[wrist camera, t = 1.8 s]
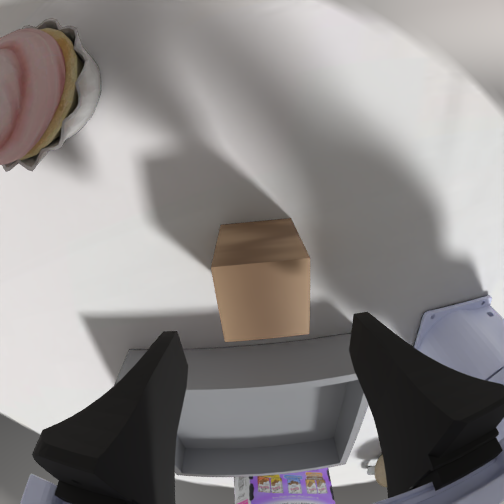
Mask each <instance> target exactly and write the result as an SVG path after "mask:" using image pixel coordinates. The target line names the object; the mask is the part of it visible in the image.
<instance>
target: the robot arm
mask: <svg viewBox="0 0 504 504" xmlns="http://www.w3.org/2000/svg"><path fill="white" fill-rule="evenodd" d="M491 301H492V297H491V296H490V295H488V296H485V297H481V298H478V299H474V300H471V301H467V302H463V303H459V304H456V305H452V306H448V307H444V308H439V309H435V310H431V311H427V312H426V313H424V315H423V317H422V321H421V324H420V328H419V331H418V335H417V338H416V341H415V345H414V347H413V346H411V345H410V344H408V343H407V342H405V341H404V340H403V339H401V338H400V337H399V336H397V335H396V334H395V333H393V332H392V331H391V330H390V329H388V328H387V327H386V326H385V325H383V324H382V323H381V322H380V321H378V320H377V319H376V318H375V317H373V316H372V315H371V314H370V313H368V312H363V313H357V314H354V316H353V324H352V331H351V339H350V345H349V353H350V357H351V360H352V364H353V367H354V371H355V373H356V376H357V378H358V380H359V383H360V385H361V388H362V390H363V392H364V395H365V397H366V399H367V402H368V404H369V407H370V409H371V412H372V415H373V417H374V421H375V424H376V428H377V432H378V436H379V441H380V445H381V450H382V455H383V460H384V466H385V472H386V481H387V489H388V499H385V500H382V501H379V502H375V503H372V504H500V503H501V502H502V501H504V319H503V318H502V317H501V316H500V315H499V314H498V313H497V312H496V311H495V310H494V309H493V308H492V307H491V306H490V304H491ZM187 378H188V363H187V360H186V357H185V354H184V351H183V348H182V345H181V342H180V339H179V336H178V332H177V331H168V332H163V333H162V334H161V335H160V336H159V337H158V338H157V340H156V341H155V342H154V343H153V344H152V346H151V347H150V348H149V349H148V350H147V352H146V353H145V354H144V355H143V356H142V357H141V359H140V360H139V361H138V362H137V363H136V364H135V365H134V367H133V368H132V369H131V370H130V371H129V372H128V373H127V374H126V375H125V376H124V377H123V378H122V379H121V380H120V381H119V382H118V383H117V384H116V385H115V386H114V387H112V388H111V389H110V390H109V391H108V392H107V393H105V394H104V395H103V396H102V397H100V398H99V399H98V400H96V401H95V402H93V403H92V404H91V405H89V406H88V407H86V408H85V409H83V410H82V411H80V412H79V413H77V414H75V415H73V416H72V417H70V418H68V419H66V420H64V421H62V422H60V423H58V424H56V425H53V426H51V427H49V428H47V429H44V430H43V431H42V433H41V435H40V438H39V440H38V442H37V444H36V447H35V449H34V451H33V454H32V455H33V458H34V460H35V461H36V462H37V463H38V464H39V465H40V466H41V467H43V468H44V469H45V470H46V471H47V472H49V473H50V474H51V475H53V476H54V477H55V478H57V479H58V480H59V482H58V485H55V484H53V483H51V482H49V481H47V480H45V479H42V478H40V477H38V476H36V475H33V474H30V476H29V479H28V482H27V485H26V488H25V491H24V493H23V496H22V499H21V502H20V504H175V452H176V438H177V431H178V426H179V421H180V416H181V412H182V407H183V402H184V397H185V393H186V388H187Z"/></svg>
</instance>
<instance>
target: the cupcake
mask: <svg viewBox="0 0 504 504" xmlns="http://www.w3.org/2000/svg"><path fill="white" fill-rule="evenodd" d="M100 93H101V77H100V72H99V68H98V66H97V64H96V62H95V61H94V60H93V58H92V57H91V56H90V55H89V54H88V53H87V52H86V50H85V49H84V47H83V46H82V44H81V41H80V38H79V35H78V32H77V29H76V28H75V27H72V26H66V27H61V26H60V24H59V22H58V21H57V20H56V19H53V18H50V19H47V20H45V21H43V22H42V23H41V24H40V25H38V26H37V27H33V26H24V27H23V28H22V29H19V30H17V31H14V32H12V33H10V34H8V35H6V36H4V37H1V38H0V165H2V166H3V168H4V170H5V171H6V172H7V171H10V170H11V169H12V168H13V167H14V166H16V165H17V164H18V163H19V164H21V165H22V166H23V167H25V168H26V169H27V170H30V171H33V170H34V169H35V167H36V166H37V165H38V164H39V162H40V161H41V160H42V159H43V157H44V156H45V155H46V154H47V152H48V151H55V150H57V149H59V148H61V146H62V145H63V143H64V141H65V140H66V139H68V138H69V137H71V136H73V135H75V134H76V133H77V132H79V131H80V130H81V129H82V128H83V127H84V126H85V124H86V123H87V122H88V121H89V119H90V118H91V116H92V115H93V113H94V111H95V108H96V106H97V103H98V100H99V97H100Z"/></svg>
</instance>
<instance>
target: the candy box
mask: <svg viewBox="0 0 504 504" xmlns="http://www.w3.org/2000/svg"><path fill="white" fill-rule="evenodd" d="M234 504H335V500H334V496H333V491H332V485H331V480H330V476H329V469H328V468H323V469H317V470H311V471H304V472H296V473H288V474H278V475H267V476H249V477H234Z"/></svg>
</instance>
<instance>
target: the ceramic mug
mask: <svg viewBox="0 0 504 504" xmlns="http://www.w3.org/2000/svg"><path fill="white" fill-rule="evenodd" d="M367 474H368V475H375V478H376V481H377V482H378V483H379V484H380V485H382V486H384V487H387V481H386V472H385V466H384V460H383V455H381V456H380V457H379V459H378V461H377V463H376V465H375V466H370V467H368V471H367Z"/></svg>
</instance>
